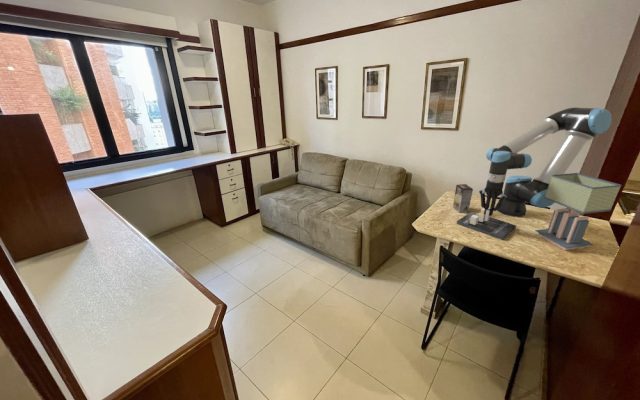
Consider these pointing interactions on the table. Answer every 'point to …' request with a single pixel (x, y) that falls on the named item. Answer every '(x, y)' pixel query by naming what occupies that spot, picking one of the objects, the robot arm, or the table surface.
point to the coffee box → (462, 198)
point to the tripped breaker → (481, 216)
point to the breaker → (474, 219)
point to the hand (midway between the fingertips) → (486, 220)
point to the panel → (488, 226)
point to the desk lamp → (576, 207)
